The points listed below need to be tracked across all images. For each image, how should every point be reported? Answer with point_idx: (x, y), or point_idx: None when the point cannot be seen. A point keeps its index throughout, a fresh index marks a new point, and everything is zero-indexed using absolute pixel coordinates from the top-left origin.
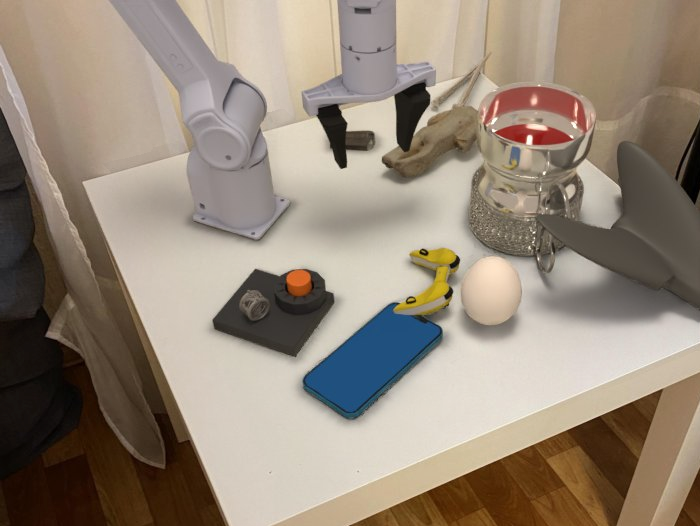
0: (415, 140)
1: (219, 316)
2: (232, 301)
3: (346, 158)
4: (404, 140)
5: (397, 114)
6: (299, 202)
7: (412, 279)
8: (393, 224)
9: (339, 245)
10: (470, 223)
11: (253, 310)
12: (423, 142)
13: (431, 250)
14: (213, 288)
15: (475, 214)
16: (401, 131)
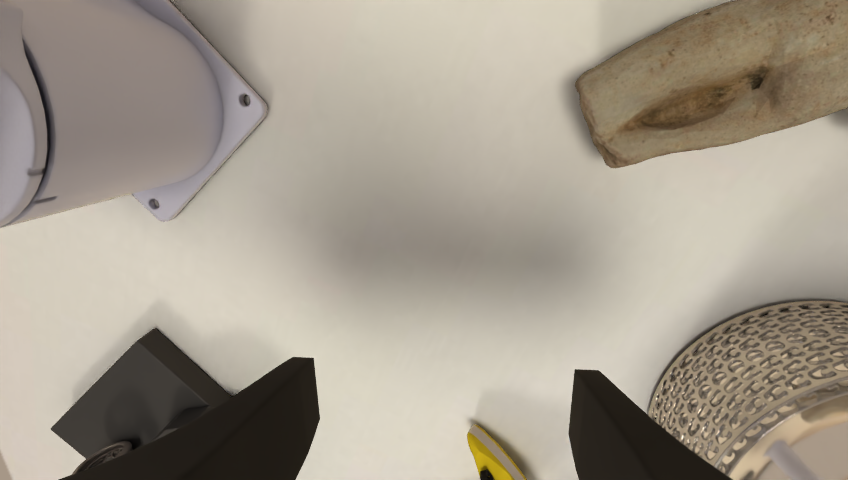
0: (745, 56)
1: (62, 428)
2: (87, 404)
3: (299, 466)
4: (584, 478)
5: (631, 467)
6: (296, 110)
7: (451, 459)
8: (492, 297)
9: (345, 310)
10: (660, 394)
11: (120, 449)
12: (765, 77)
13: (508, 478)
14: (70, 318)
15: (677, 439)
16: (596, 467)
